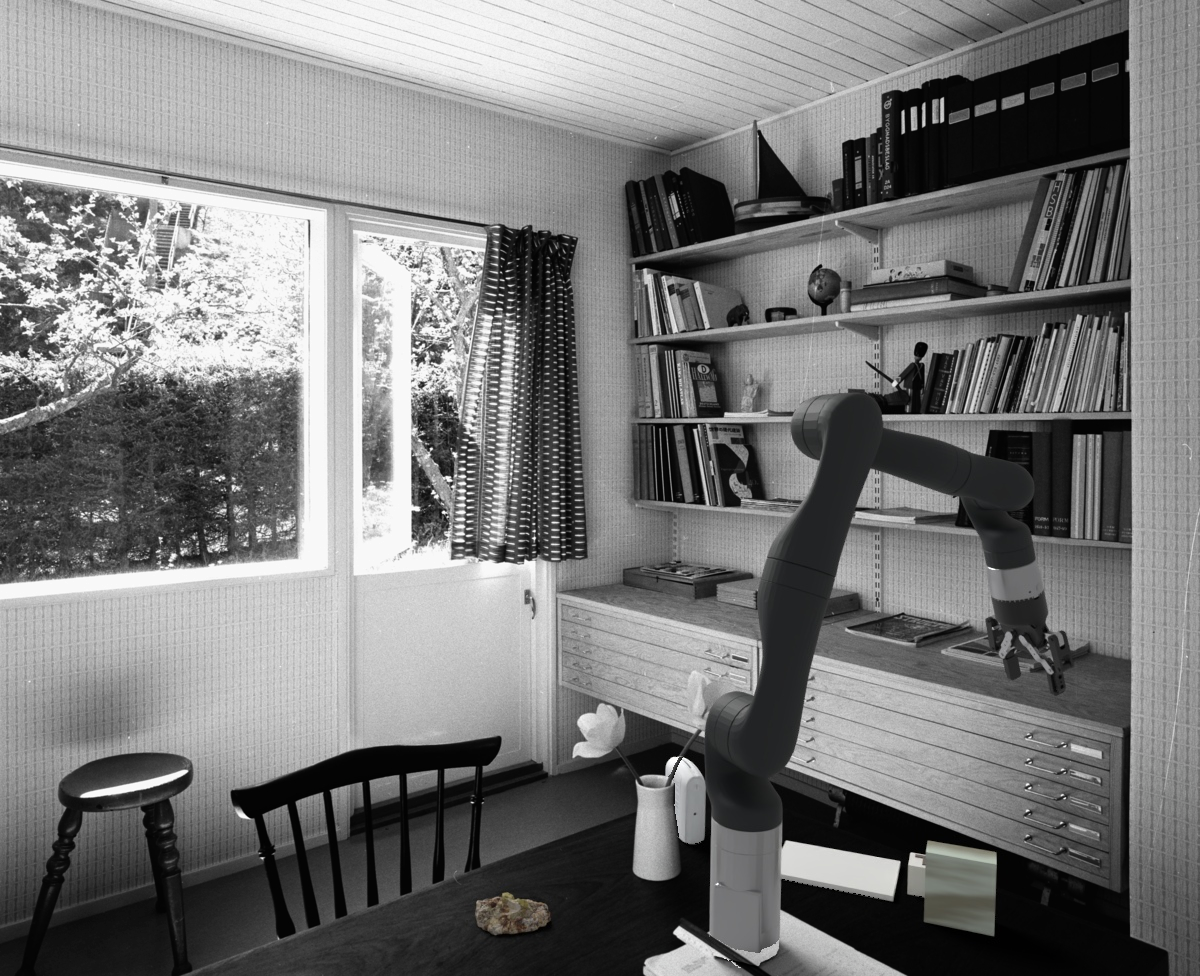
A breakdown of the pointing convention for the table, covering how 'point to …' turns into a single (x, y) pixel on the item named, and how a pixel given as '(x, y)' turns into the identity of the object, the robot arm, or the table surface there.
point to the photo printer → (688, 800)
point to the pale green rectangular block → (960, 887)
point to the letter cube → (916, 874)
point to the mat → (839, 870)
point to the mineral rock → (510, 915)
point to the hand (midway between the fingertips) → (1035, 685)
